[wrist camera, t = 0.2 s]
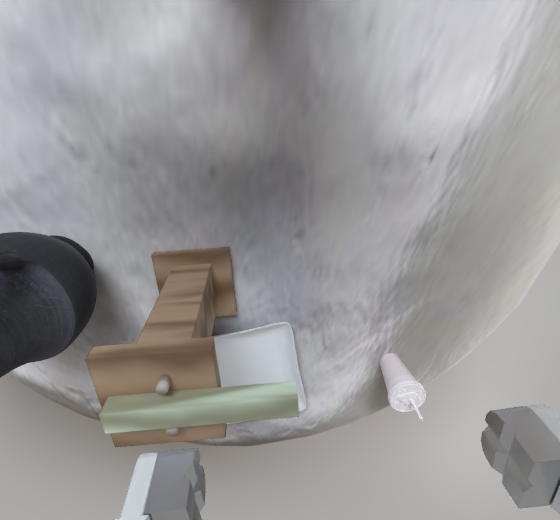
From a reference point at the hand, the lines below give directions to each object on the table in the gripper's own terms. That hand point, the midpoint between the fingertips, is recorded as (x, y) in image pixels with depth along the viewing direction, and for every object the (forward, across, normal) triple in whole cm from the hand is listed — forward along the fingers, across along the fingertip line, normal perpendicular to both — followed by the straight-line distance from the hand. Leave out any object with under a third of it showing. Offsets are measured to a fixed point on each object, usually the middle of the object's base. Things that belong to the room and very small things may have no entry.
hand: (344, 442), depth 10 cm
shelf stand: (+48, +13, +20) cm, 53 cm away
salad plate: (+48, +8, +39) cm, 62 cm away
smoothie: (+47, -20, +41) cm, 65 cm away
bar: (+22, +9, +19) cm, 31 cm away
